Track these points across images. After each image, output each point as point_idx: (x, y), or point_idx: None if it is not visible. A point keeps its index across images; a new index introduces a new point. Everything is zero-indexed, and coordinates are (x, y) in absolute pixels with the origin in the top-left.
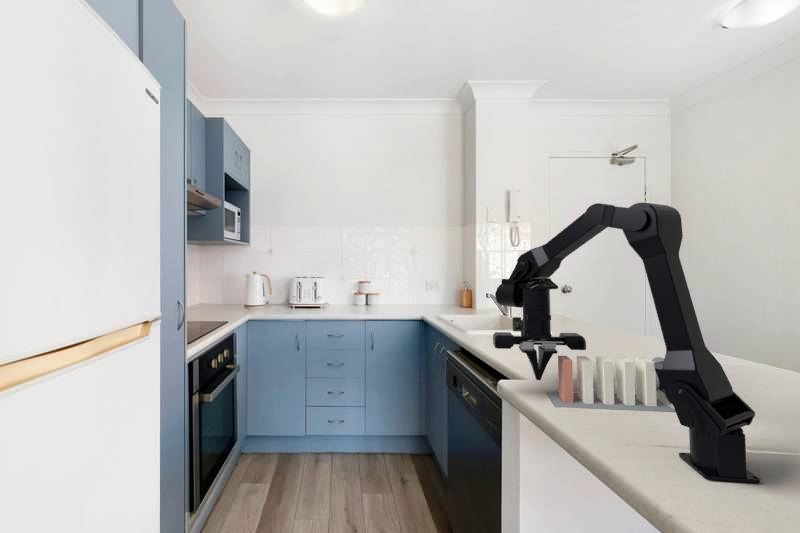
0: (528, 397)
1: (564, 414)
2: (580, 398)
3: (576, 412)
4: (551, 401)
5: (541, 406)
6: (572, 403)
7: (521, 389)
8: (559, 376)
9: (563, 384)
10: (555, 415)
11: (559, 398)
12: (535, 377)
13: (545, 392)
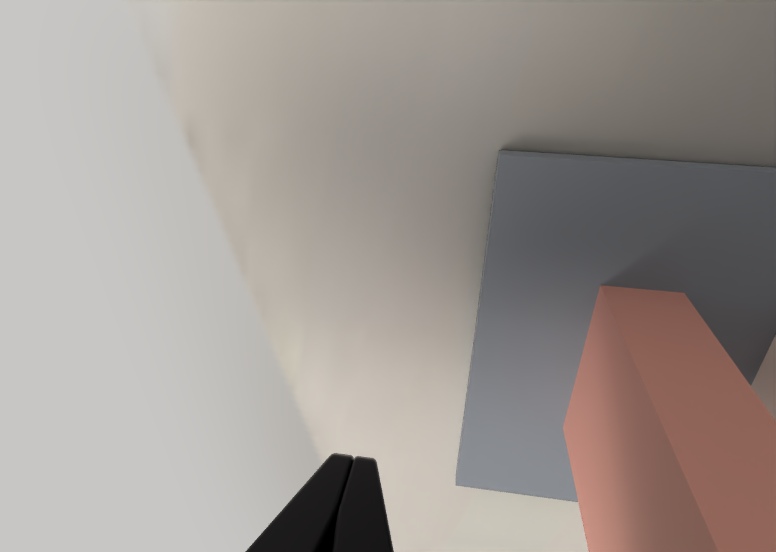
0: (316, 277)
1: (481, 536)
2: (762, 372)
3: (571, 520)
4: (468, 406)
5: (377, 437)
6: None
7: (275, 32)
8: (650, 476)
9: (594, 549)
10: (423, 542)
11: (565, 353)
12: (325, 464)
13: (499, 199)
